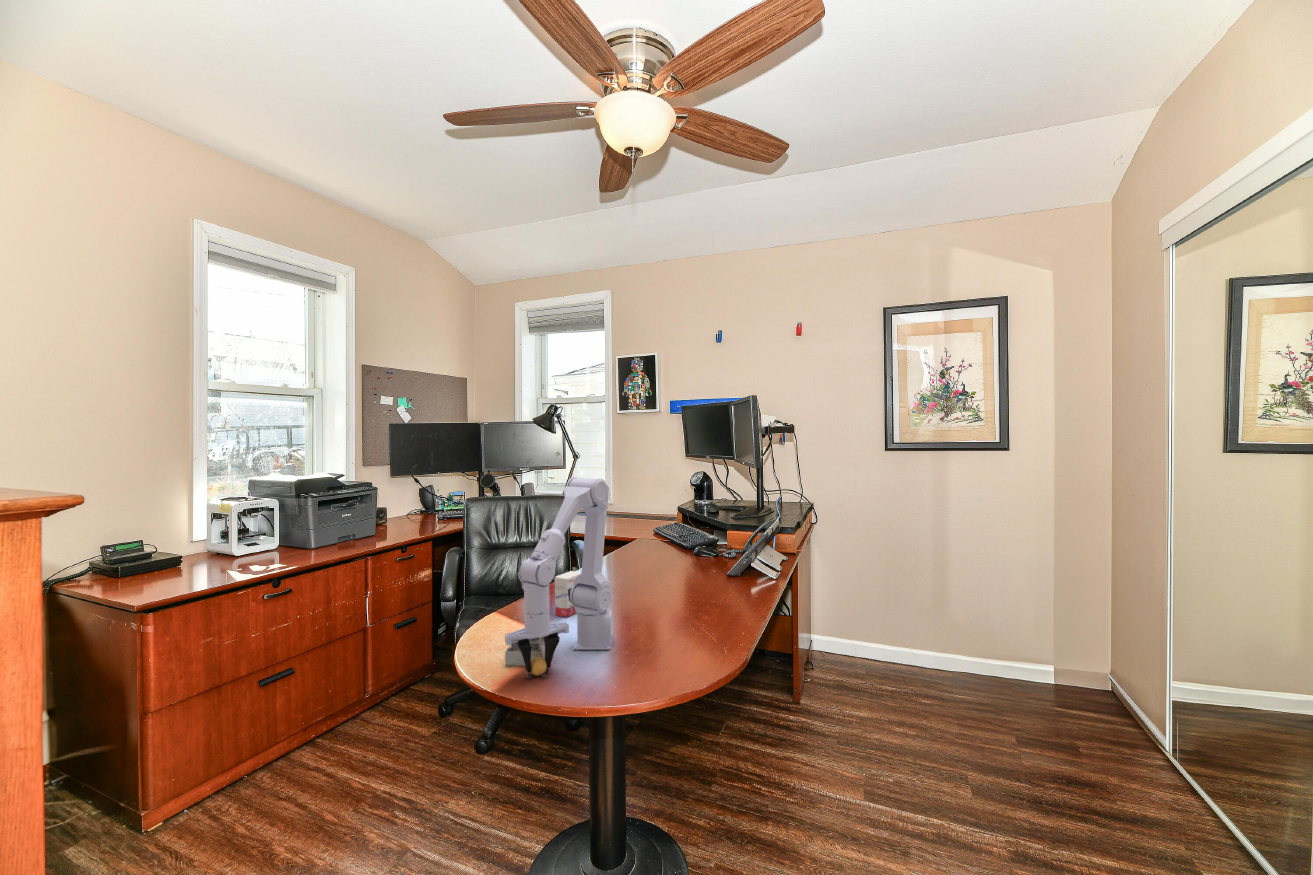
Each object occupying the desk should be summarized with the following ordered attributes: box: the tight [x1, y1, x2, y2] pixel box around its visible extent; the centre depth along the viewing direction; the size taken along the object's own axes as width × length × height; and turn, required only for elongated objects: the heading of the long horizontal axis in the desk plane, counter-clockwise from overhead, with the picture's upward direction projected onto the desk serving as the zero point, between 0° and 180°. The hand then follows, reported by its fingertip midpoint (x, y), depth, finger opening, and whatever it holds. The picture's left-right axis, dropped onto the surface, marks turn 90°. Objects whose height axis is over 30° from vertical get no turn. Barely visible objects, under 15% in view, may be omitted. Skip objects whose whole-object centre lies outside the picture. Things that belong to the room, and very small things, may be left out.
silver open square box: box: [504, 637, 545, 667], centre depth 132 cm, size 9×9×5 cm
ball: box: [530, 657, 547, 676], centre depth 123 cm, size 4×4×4 cm
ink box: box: [554, 570, 582, 618], centre depth 164 cm, size 9×5×12 cm, turn 150°
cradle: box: [526, 668, 550, 680], centre depth 123 cm, size 4×4×1 cm
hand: (538, 668), depth 123 cm, fingers closed on ball, 4 cm apart
